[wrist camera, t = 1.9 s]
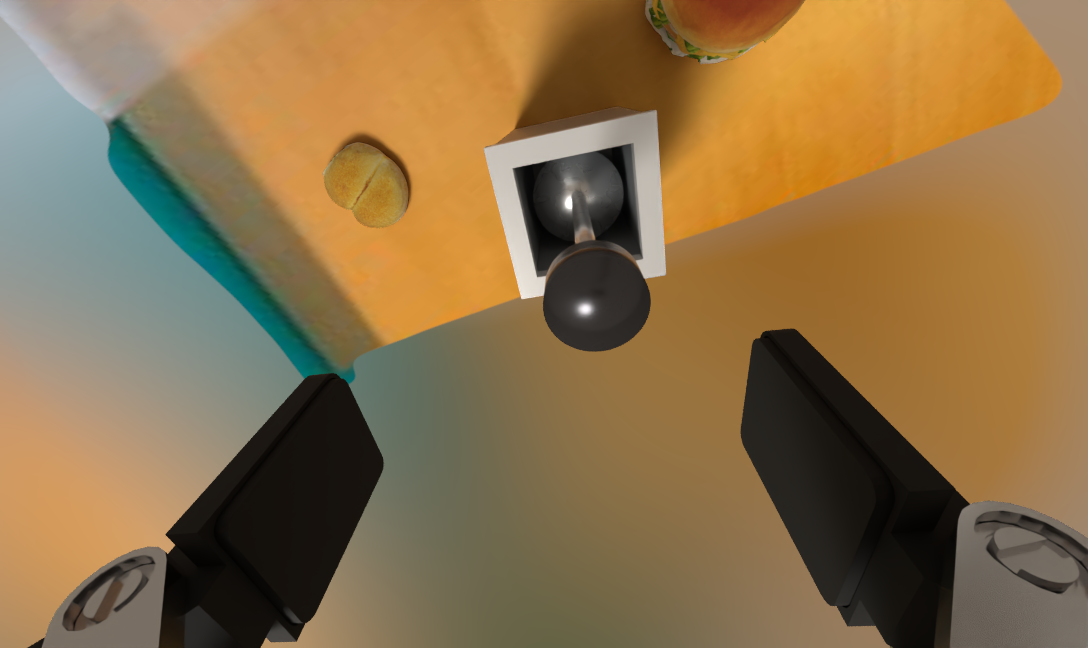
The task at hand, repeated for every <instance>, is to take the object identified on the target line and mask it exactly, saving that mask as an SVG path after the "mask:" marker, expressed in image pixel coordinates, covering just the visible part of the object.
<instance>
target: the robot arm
mask: <svg viewBox="0 0 1088 648" xmlns="http://www.w3.org/2000/svg"><path fill="white" fill-rule="evenodd" d="M741 438H742V443H743V445H744V448H745V450H746V451H747V453H748V455H749V457H750V459H751V461H752V463H753V465H754V467H755V469H756V471H757V472H758V474H759V476H760V478H761V480H762V482H763V484H764V486H765V488H766V490H767V492H768V493H769V495H770V498H771V499H772V501H773V503H774V505H775V507H776V509H777V511H778V513H779V515H780V517H781V519H782V521H783V522H784V524H785V526H786V528H787V530H788V532H789V534H790V536H791V538H792V540H793V542H794V544H795V545H796V547H797V549H798V551H799V553H800V555H801V557H802V559H803V561H804V563H805V565H806V566H807V569H808V570H809V572H810V574H811V576H812V578H813V580H814V582H815V584H816V586H817V588H818V590H819V592H820V593H821V595H822V597H823V598H824V600H825V601H826V602H827V603H828V604H829V605H830V606H837V608H838V610H839V611H840V613H841V615H842V617H843V619H844V620H845V622H846V624H847V626H876V627H877V629H878V630H879V632H880V634H881V635H882V637H883V639H884V641H885V642H886V644H888V645H890V648H1088V538H1086V537H1085V536H1084V535H1082V534H1081V533H1079V532H1078V531H1076V530H1074V529H1072V528H1071V527H1069V526H1067V525H1065V524H1064V523H1062V522H1060V521H1058V520H1056V519H1054V518H1052V517H1049V516H1047V515H1045V514H1042V513H1040V512H1038V511H1035V510H1032V509H1029V508H1026V507H1022V506H1018V505H1014V504H1011V503H1004V502H995V501H984V502H977V503H972V504H969V503H968V502H967V501H966V500H965V499H964V498H963V497H962V496H961V495H960V494H959V493H958V492H957V491H956V490H955V488H954V487H953V486H952V485H951V484H950V483H949V482H948V481H947V480H946V479H945V478H944V477H943V476H942V475H941V474H940V473H939V472H938V471H937V470H936V469H935V468H934V467H933V466H932V465H931V464H930V463H929V462H928V461H927V460H926V459H925V458H924V457H923V456H922V455H921V454H920V453H919V452H918V451H917V450H916V449H915V448H914V447H913V446H912V445H911V444H910V443H909V442H908V441H907V440H906V439H905V438H904V437H903V436H902V435H901V434H900V433H899V432H898V431H897V430H896V429H895V428H894V427H893V426H892V425H891V424H890V423H889V422H888V421H887V420H886V419H885V418H884V417H883V416H882V415H881V414H880V413H879V412H878V411H877V410H876V409H875V408H874V407H873V406H872V405H871V404H870V403H869V402H868V401H867V400H866V399H865V398H864V397H863V396H862V395H861V394H860V393H859V392H858V391H857V390H856V389H855V388H854V387H853V386H852V385H851V384H850V383H849V382H848V381H847V380H846V379H845V378H844V377H843V376H842V375H841V374H840V373H839V372H838V371H837V370H836V369H835V368H834V367H833V366H832V365H831V364H830V363H829V362H828V361H827V360H826V359H825V358H824V357H823V356H822V355H821V354H820V353H819V352H818V351H817V350H816V349H815V348H814V347H813V346H812V345H811V344H810V343H809V342H808V341H807V340H806V339H805V338H804V337H803V336H802V335H801V334H800V333H799V332H798V331H797V330H795V329H782V330H772V331H765V332H763V333H762V335H761V337H760V338H758V339H755V340H754V341H753V344H752V350H751V357H750V365H749V372H748V379H747V387H746V395H745V402H744V409H743V417H742V424H741ZM382 470H383V457H382V454H381V452H380V450H379V448H378V446H377V444H376V442H375V440H374V438H373V436H372V434H371V431H370V429H369V427H368V425H367V423H366V421H365V419H364V417H363V415H362V412H361V411H360V408H359V406H358V404H357V402H356V400H355V398H354V396H353V394H352V391H351V389H350V387H349V385H348V383H347V382H346V380H344V379H341V378H340V377H339V376H338V375H337V374H334V373H330V374H319V375H311V376H308V377H307V378H305V379H304V380H303V382H302V383H301V384H300V385H299V386H298V387H297V388H296V389H295V390H294V392H293V393H292V394H291V395H290V396H289V397H288V398H287V399H286V400H285V402H284V403H283V404H282V405H281V406H280V407H279V408H278V409H277V411H276V412H275V413H274V414H273V415H272V416H271V417H270V418H269V419H268V421H267V422H266V423H265V424H264V425H263V426H262V427H261V428H260V429H259V431H258V432H257V433H256V434H255V435H254V436H253V437H252V438H251V440H250V441H249V442H248V443H247V444H246V445H245V446H244V447H243V448H242V450H241V451H240V452H239V453H238V454H237V455H236V456H235V457H234V458H233V460H232V461H231V462H230V463H229V464H228V465H227V466H226V467H225V469H224V470H223V471H222V472H221V473H220V474H219V475H218V476H217V477H216V479H215V480H214V481H213V482H212V483H211V484H210V485H209V486H208V488H207V489H206V490H205V491H204V492H203V493H202V494H201V495H200V496H199V498H198V499H197V500H196V501H195V502H194V503H193V504H192V505H191V507H190V508H189V509H188V510H187V511H186V512H185V513H184V514H183V515H182V517H181V518H180V519H179V520H178V521H177V522H176V523H175V524H174V525H173V527H172V528H171V529H170V530H169V531H168V532H167V533H166V536H167V537H168V538H169V539H170V540H171V541H172V542H173V543H174V544H175V546H174V548H173V549H172V550H171V551H170V552H169V553H168V554H167V553H166V552H165V551H164V550H162V549H161V548H159V547H145V548H141V549H137V550H134V551H131V552H129V553H127V554H125V555H122V556H120V557H118V558H116V559H115V560H113V561H111V562H110V563H108V564H107V565H105V566H103V567H101V568H100V569H99V570H97V571H96V572H95V573H93V574H92V575H91V576H90V577H88V578H87V579H86V580H84V581H83V582H82V583H81V584H80V585H79V586H78V587H77V588H76V589H75V590H74V591H73V592H72V593H71V594H70V595H69V596H68V597H67V598H66V599H65V601H64V602H63V603H62V604H61V606H60V607H59V608H58V609H57V611H56V612H55V614H54V616H53V618H52V620H51V622H50V624H49V627H48V630H47V633H46V636H45V638H43V639H41V640H40V641H38V642H36V643H35V644H33V645H31V646H30V647H28V648H261V646H262V644H263V642H264V640H265V638H267V639H268V640H269V641H270V642H295V641H297V640H298V637H299V636H300V633H301V631H302V629H303V627H304V625H305V623H307V622H308V621H310V620H311V619H312V618H313V616H314V615H315V613H316V611H317V609H318V607H319V605H320V603H321V601H322V599H323V596H324V594H325V592H326V590H327V588H328V586H329V583H330V582H331V579H332V577H333V575H334V573H335V571H336V569H337V567H338V565H339V562H340V560H341V558H342V556H343V554H344V552H345V550H346V548H347V545H348V543H349V541H350V539H351V537H352V535H353V533H354V531H355V528H356V526H357V524H358V522H359V520H360V518H361V516H362V514H363V511H364V509H365V507H366V505H367V503H368V501H369V499H370V497H371V495H372V492H373V490H374V488H375V486H376V484H377V482H378V480H379V477H380V475H381V473H382Z"/></svg>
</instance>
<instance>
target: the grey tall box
mask: <svg viewBox="0 0 1088 648" xmlns="http://www.w3.org/2000/svg"><path fill="white" fill-rule="evenodd" d="M592 151H597V152H599V153H601V154H602V155H604V156H605V157H606V158H607V159H609V160H610V161H611V163H612V164H613V165H614V166H615V168H616V169H617V171H618V173H619V175H620V177H621V180H622V184H623V194H624V196H623V203H622V207H621V210H620V213H619V215H618V217H617V219H616V220H615V222H614V223H613V224H612V225H611V227H610V228H609V229H607V230H606V231H605V232H604V233H602V234H601V235H599V236H597V237H595V240H602V241H608V242H611V243H614V244H617V245H619V246H620V247H622V248H624V249H625V250H626V251H628V252H629V253H630V254H631V255H632V256H633V258H634V259H635V261H636V262H637V264H638V266H639V268H640V270H641V273H642V275H643V277H644V279H645V278H651V277H657V276H662V275H666V266H665V250H664V249H665V248H664V230H663V213H662V195H661V177H660V160H659V142H658V124H657V110H649V111H645V112H640V111H636V110H632V109H627V108H623V107H619V106H618V107H613V108H609V109H604V110H600V111H595V112H591V113H586V114H582V115H577V116H573V117H568V118H564V119H559V120H555V121H550V122H546V123H541V124H537V125H532V126H528V127H523V128H519V129H514V130H513V131H512V132H510V133H509V134H508V135H507V136H505V137H504V138H503V139H502V140H500V141H499V142H498V143H496V144H494V145H490V146H486V147H485V148H484V152H485V156H486V160H487V164H488V168H489V172H490V176H491V180H492V184H493V188H494V192H495V196H496V200H497V204H498V208H499V211H500V215H501V219H502V223H503V227H504V231H505V235H506V239H507V243H508V247H509V251H510V255H511V259H512V263H513V267H514V271H515V275H516V279H517V282H518V286H519V290H520V294H521V298H522V299H525V298H531V297H537V296H543V295H544V288H545V279H546V275H547V272H548V269H549V267H550V265H551V264H552V262H553V261H554V259H555V258H556V257H557V256H558V255H559V254H560V253H561V252H562V251H564V250H565V249H567V248H568V247H570V246H572V245H574V244H575V241H567V240H564V239H561V238H559V237H557V236H555V235H553V234H552V233H550V232H549V231H548V230H547V229H546V228H545V227H544V226H543V225H542V223H541V222H540V220H539V219H538V217H537V214H536V212H535V208H534V203H533V191H534V186H535V182H536V179H537V176H538V174H539V172H540V170H541V169H542V167H543V166H544V165H545V164H546V162H547V161H549V160H554V159H559V158H564V157H568V156H573V155H578V154H583V153H588V152H592Z"/></svg>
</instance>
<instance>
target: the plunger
mask: <svg viewBox="0 0 1088 648" xmlns="http://www.w3.org/2000/svg"><path fill="white" fill-rule="evenodd" d="M623 196H624V194H623V184H622V180H621V177H620V175H619V173H618V171H617V169H616V168H615V166H614V165H613V164H612V163H611V161H610V160H609V159H607V158H606V157H605V156H604V155H602V154H601V153H599V152H597V151H592V152H588V153H583V154H578V155H573V156H568V157H564V158H559V159H554V160H549V161H547V162H546V164H545V165H544V166H543V167H542V169H541V170H540V172H539V174H538V176H537V179H536V182H535V186H534V191H533V203H534V208H535V212H536V214H537V217H538V219H539V220H540V222H541V223H542V225H543V226H544V227H545V228H546V229H547V230H548V231H549V232H550V233H552V234H553V235H555V236H557V237H559V238H561V239H564V240H567V241H575V244H574V245H572V246H570V247H568V248H567V249H565V250H564V251H562V252H561V253H560V254H559V255H558V256H557V257H556V258H555V259H554V261H553V262H552V264H551V265H550V267H549V269H548V272H547V275H546V279H545V288H544V301H543V311H544V316H545V320H546V322H547V324H548V327H549V328H550V329H551V331H552V332H553V334H554V335H555V336H556V337H557V338H558V339H559V340H561V341H562V342H564V343H565V344H567V345H569V346H571V347H573V348H576V349H579V350H583V351H605V350H610V349H613V348H616V347H618V346H621V345H622V344H624V343H626V342H628V341H629V340H630V339H632V338H633V337H634V336H635V335H636V334H637V333H638V332H639V331H640V330H641V329H642V327H643V325H644V324H645V322H646V320H647V318H648V315H649V311H650V304H651V300H650V292H649V289H648V286H647V284H646V282H645V279H644V277H643V275H642V273H641V270H640V268H639V266H638V264H637V262H636V261H635V259H634V258H633V256H632V255H631V254H630V253H629V252H628V251H626V250H625V249H624V248H622V247H620V246H619V245H617V244H614V243H611V242H608V241H602V240H595V237H597V236H599V235H601V234H602V233H604V232H605V231H606V230H607V229H609V228H610V227H611V225H612V224H613V223H614V222H615V220H616V219H617V217H618V215H619V213H620V210H621V207H622V203H623Z"/></svg>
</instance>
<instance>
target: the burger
mask: <svg viewBox="0 0 1088 648" xmlns="http://www.w3.org/2000/svg"><path fill="white" fill-rule="evenodd" d="M804 1H805V0H646V7H645V15H646V18H647V19H648V21H649V22H650V23H651V24H652V26H653V28H654V30H655V31H656V32H658V33H659V34H660V35H661V36H662V40H663V41H664V42H665V43H666V44H667V45H668V46H669V49H670V50H671V52H672V54H673V55H677V56H681V57H684V56H686V55H687V56H688V57H690V58H695V59H698V62H700V64H710V63H718V62H721V61H724V60H727V59H731V60H732V59H735V58H737V57H739V56H741V55H743V54H744V53H746V52H747V51H749V50H750V49H752V48H753V47H754V46H756V45H757V44H758V43H759V42H761V41H764V42H766V41H767V40H768V39H769V38H770V37H772V36H773V35H774V34H775V33H777V32H778V31H779V29H780V28H781V27H782V26H783V25H784V24H786V23H787V22H788V21H789V20H790V19H791V18H792V17H793V16H794V15H795V14H796V13H797V11H798V10H799V8H800V7H801V6H802V4H803V3H804Z"/></svg>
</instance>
